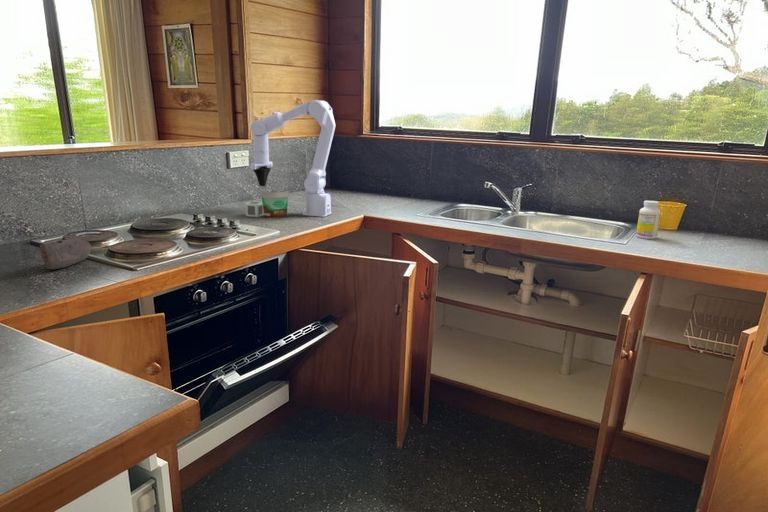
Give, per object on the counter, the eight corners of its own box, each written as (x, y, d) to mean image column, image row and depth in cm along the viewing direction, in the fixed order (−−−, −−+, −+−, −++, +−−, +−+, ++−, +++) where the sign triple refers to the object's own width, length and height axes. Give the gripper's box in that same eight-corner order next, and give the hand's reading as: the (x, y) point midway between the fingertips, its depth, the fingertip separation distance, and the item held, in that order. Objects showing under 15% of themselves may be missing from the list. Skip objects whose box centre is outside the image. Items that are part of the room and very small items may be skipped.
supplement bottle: (645, 234, 190) (651, 199, 186) (660, 238, 184) (666, 202, 180) (631, 235, 187) (636, 200, 184) (646, 240, 181) (652, 203, 178)
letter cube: (264, 215, 207) (263, 202, 206) (257, 217, 203) (257, 204, 201) (252, 214, 209) (251, 201, 207) (245, 216, 204) (245, 203, 202)
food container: (269, 219, 198) (269, 193, 195) (260, 217, 202) (259, 191, 199) (296, 216, 206) (296, 190, 204) (287, 213, 211) (286, 188, 208)
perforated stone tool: (84, 257, 143) (81, 232, 141) (100, 259, 142) (96, 233, 140) (34, 272, 129) (30, 244, 127) (51, 274, 128) (47, 246, 126)
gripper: (261, 150, 216) (262, 183, 219) (242, 152, 202) (244, 187, 206) (276, 150, 214) (277, 184, 217) (259, 153, 200) (260, 188, 204)
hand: (262, 185), depth 211 cm, fingers closed
